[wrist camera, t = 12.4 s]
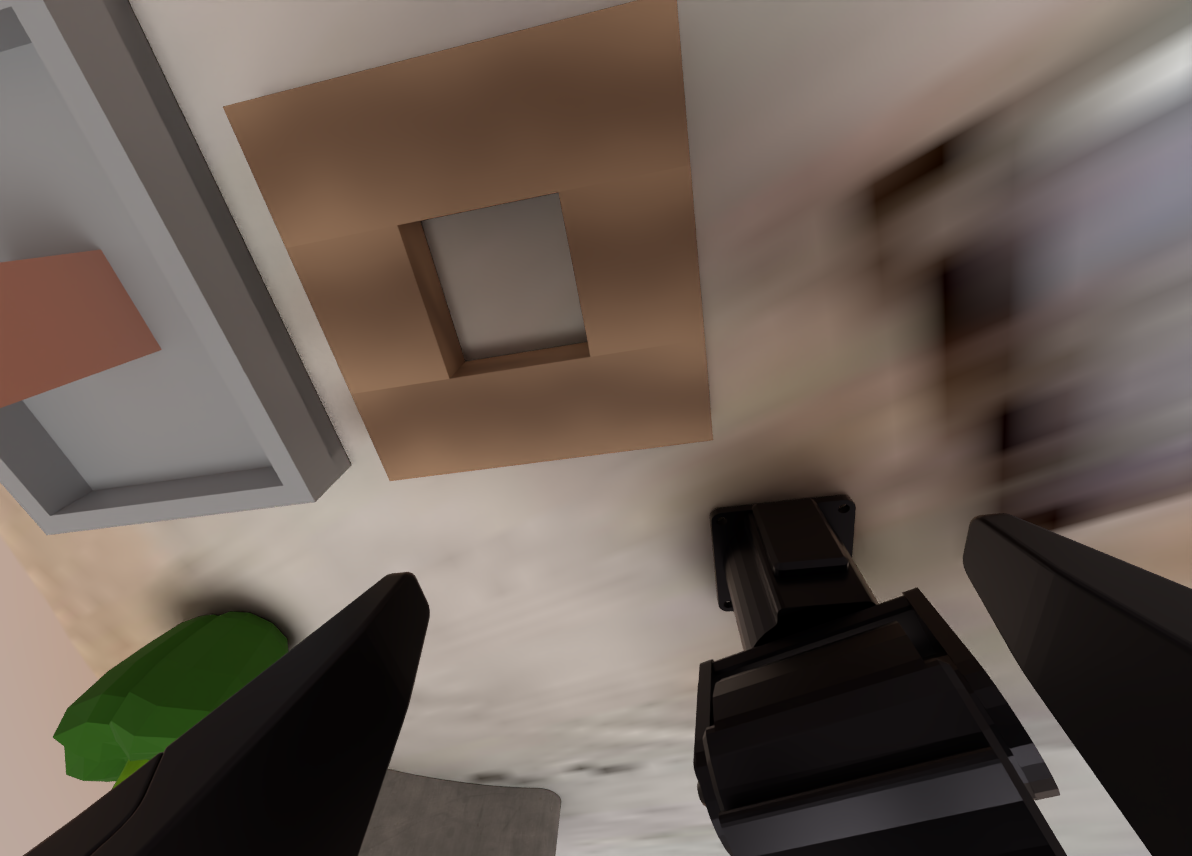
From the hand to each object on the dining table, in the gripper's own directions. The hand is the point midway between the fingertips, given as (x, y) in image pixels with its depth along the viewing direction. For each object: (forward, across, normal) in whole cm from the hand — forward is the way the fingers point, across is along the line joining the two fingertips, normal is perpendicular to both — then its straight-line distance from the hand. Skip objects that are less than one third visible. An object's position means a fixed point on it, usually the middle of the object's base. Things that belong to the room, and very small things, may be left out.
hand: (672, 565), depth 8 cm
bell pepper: (+13, +27, +15) cm, 34 cm away
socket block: (+13, +5, -3) cm, 14 cm away
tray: (+13, +22, -5) cm, 26 cm away
